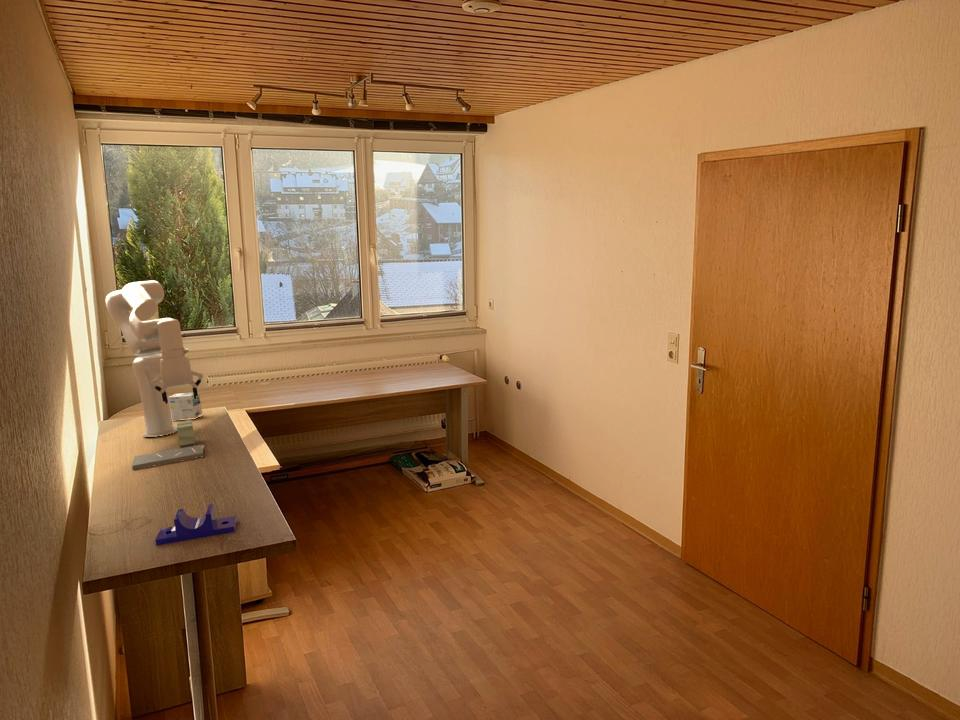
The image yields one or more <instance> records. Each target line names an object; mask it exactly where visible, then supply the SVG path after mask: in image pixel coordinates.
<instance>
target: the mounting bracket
mask: <svg viewBox="0 0 960 720" xmlns="http://www.w3.org/2000/svg"><path fill="white" fill-rule="evenodd" d="M237 522H238V519H237V515H233V516H228V517H223V518H221V517H220V518H217V514H216V509H215V503H208V506H207V509H206V513H205V514H203V515H202V516H199V517H192V516H189V515H188V514H187V513H186V511H185V510H184V508H179V509H178V510H177V512H176V514H175V516H174V518H173V524H174V526H169V527H163V528H160V529H159V532H158V534H157V535H156V538H155V546H157V547H158V546H161V545H167V544H174V543H178V542H185V541H189V540H196V539H202V538H207V537H213V536H218V535H225V534H230V533H235V532H236V528H237Z"/></svg>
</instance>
